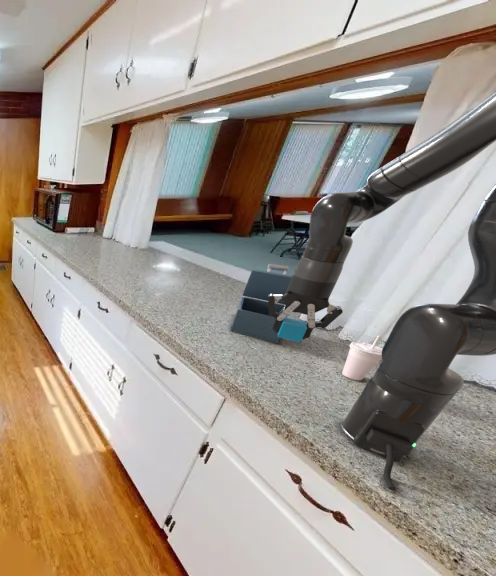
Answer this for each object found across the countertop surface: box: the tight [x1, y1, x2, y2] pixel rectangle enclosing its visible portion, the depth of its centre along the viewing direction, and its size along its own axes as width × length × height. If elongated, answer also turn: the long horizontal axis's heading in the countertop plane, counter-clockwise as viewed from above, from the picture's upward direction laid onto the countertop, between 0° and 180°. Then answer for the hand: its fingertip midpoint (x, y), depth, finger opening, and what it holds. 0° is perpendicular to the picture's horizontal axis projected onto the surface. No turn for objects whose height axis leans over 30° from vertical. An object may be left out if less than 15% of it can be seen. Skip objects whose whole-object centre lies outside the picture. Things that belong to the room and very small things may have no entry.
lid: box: [241, 263, 293, 305], centre depth 104 cm, size 15×13×6 cm
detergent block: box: [278, 317, 307, 343], centre depth 78 cm, size 4×4×4 cm
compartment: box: [230, 296, 288, 344], centre depth 106 cm, size 15×13×9 cm
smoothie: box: [341, 334, 383, 381], centre depth 81 cm, size 6×6×14 cm
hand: (289, 334), depth 79 cm, fingers closed on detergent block, 4 cm apart
